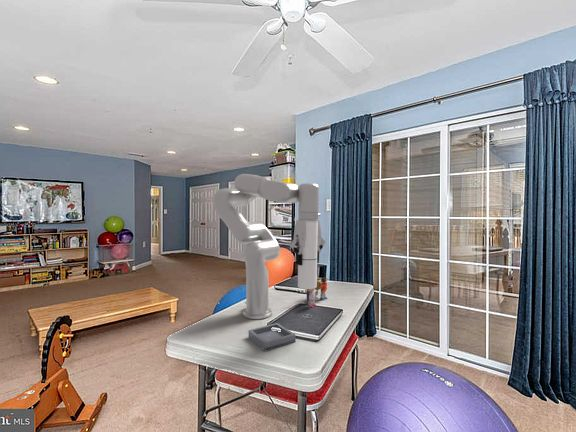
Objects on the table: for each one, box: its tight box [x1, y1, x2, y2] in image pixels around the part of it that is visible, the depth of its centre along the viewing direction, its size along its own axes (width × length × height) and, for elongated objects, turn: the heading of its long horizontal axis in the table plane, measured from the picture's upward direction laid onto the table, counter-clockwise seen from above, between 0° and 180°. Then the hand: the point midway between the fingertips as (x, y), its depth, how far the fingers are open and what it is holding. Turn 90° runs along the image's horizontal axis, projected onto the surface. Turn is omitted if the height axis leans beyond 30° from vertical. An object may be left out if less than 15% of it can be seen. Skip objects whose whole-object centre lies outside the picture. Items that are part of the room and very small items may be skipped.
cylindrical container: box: [297, 221, 318, 290], centre depth 112 cm, size 7×7×25 cm
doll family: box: [304, 274, 328, 309], centre depth 144 cm, size 21×10×13 cm, turn 151°
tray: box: [248, 322, 296, 352], centre depth 104 cm, size 12×12×2 cm
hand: (307, 263), depth 112 cm, fingers closed on cylindrical container, 7 cm apart
